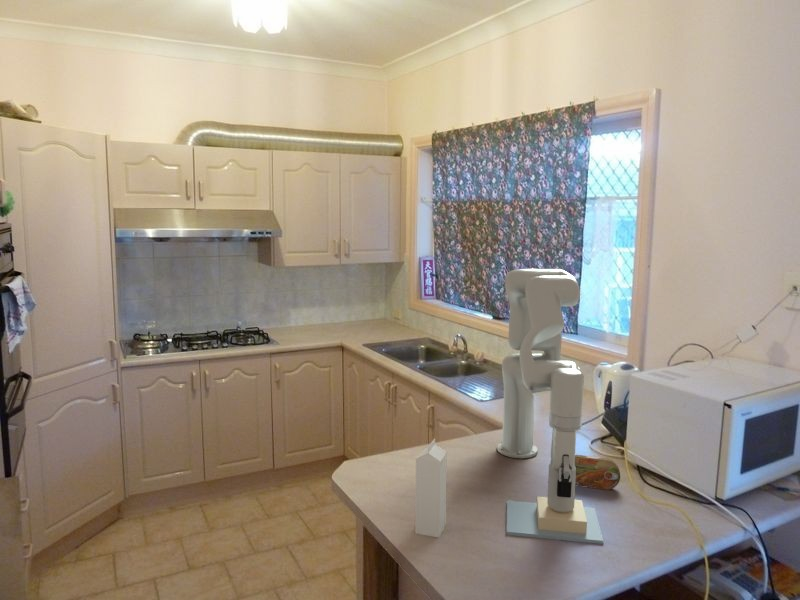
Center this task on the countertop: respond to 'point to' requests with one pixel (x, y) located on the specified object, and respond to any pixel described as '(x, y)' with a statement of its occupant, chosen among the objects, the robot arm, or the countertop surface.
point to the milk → (431, 491)
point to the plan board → (530, 526)
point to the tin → (596, 472)
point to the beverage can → (553, 500)
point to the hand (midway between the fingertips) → (562, 487)
